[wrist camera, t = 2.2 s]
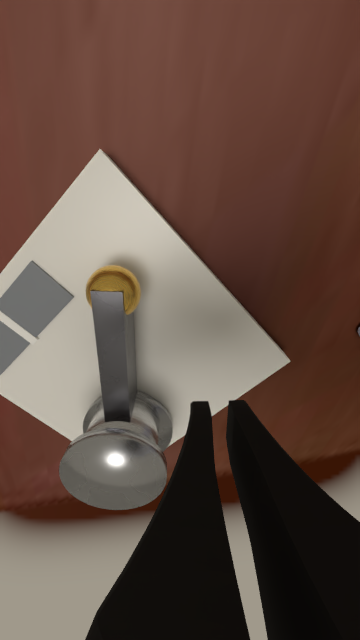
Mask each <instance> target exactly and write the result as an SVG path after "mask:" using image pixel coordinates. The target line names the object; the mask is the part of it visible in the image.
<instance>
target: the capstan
mask: <svg viewBox="0 0 360 640" xmlns="http://www.w3.org/2000/svg"><path fill="white" fill-rule="evenodd" d="M140 298H141V288H140V284H139V282H138V280H137V278H136V277H135V275H134V274H133V273H132V272H131V271H129V270H128V269H126V268H124V267H121V266H117V265H108V266H104V267H101V268H99V269H97V270H96V271H95V272H94V273H93V274H92V275H91V276H90V278H89V279H88V282H87V284H86V299H87V301H88V304H89V305H90V307H91V308H92V312H93V321H94V329H95V338H96V347H97V356H98V365H99V374H100V383H101V392H102V397H100V398H98V399H97V400H96V401H95V402H94V403H93V404H92V405H91V406H90V407H89V409H88V411H87V413H86V415H85V418H84V421H83V433H84V434H82V435H80V436H78V437H77V438H76V439H74V440H73V441H72V442H71V443H70V445H69V446H68V447H67V449H66V452H65V454H64V456H63V458H62V460H61V462H60V466H59V474H60V478H61V481H62V483H63V485H64V486H65V488H66V489H67V490H68V491H69V492H70V493H71V494H72V495H73V496H74V497H76V498H77V499H79V500H80V501H82V502H84V503H87V504H89V505H92V506H95V507H98V508H103V509H110V510H125V509H132V508H136V507H139V506H142V505H145V504H147V503H149V502H151V501H152V500H154V499H155V498H156V497H157V496H158V495H159V494H160V493H161V492H162V490H163V489H164V487H165V484H166V478H167V462H166V458H165V456H164V453H163V451H164V450H165V449H166V448H167V447H168V445H169V444H170V442H171V439H172V433H173V423H172V418H171V416H170V413H169V412H168V410H167V409H166V408H165V406H164V405H163V404H162V403H160V402H159V401H158V400H156V399H155V398H153V397H151V396H150V395H149V394H147V393H146V392H144V391H141V390H138V389H137V374H136V351H135V328H134V310H135V309H136V307H137V306H138V304H139V301H140Z"/></svg>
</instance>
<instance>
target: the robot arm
mask: <svg viewBox="0 0 360 640" xmlns="http://www.w3.org/2000/svg"><path fill="white" fill-rule="evenodd" d="M358 334H359V336H360V327H359V328H358ZM226 440H227V447H228V453H229V459H230V465H231V469H232V473H233V476H234V480H235V484H236V488H237V491H238V495H239V499H240V503H241V507H242V510H243V514H244V518H245V522H246V525H247V529H248V534H249V538H250V542H251V547H252V553H253V558H254V563H255V569H256V574H257V579H258V585H259V591H260V597H261V602H262V608H263V614H264V619H265V625H266V631H267V637H268V640H360V522H359V521H358V520H356V519H355V518H354V517H353V516H351V515H350V514H349V513H348V512H347V511H346V510H344V509H343V508H342V507H341V506H340V505H339V504H338V503H336V501H334V500H333V499H332V498H331V497H330V496H329V495H328V494H327V493H326V492H325V491H323V490H322V489H321V488H320V487H319V486H318V485H317V484H316V483H315V482H314V481H313V480H312V479H311V478H310V477H309V476H308V475H307V474H306V473H305V472H304V471H303V470H302V469H301V468H300V467H299V466H298V465H297V464H296V463H295V461H294V460H293V459H292V458H291V457H290V456H289V455H288V454H287V453H286V452H285V451H284V449H283V448H282V447H281V446H280V445H279V444H278V442H277V441H276V440H275V439H274V438H273V437H272V435H271V434H270V433H269V432H268V430H267V429H266V428H265V427H264V425H263V424H262V423H261V422H260V420H259V419H258V418H257V416H256V415H255V414H254V412H253V411H252V410H251V408H250V407H249V406H248V404H247V403H246V402H245V401H244V400H229V404H228V418H227V432H226ZM85 640H250V637H249V632H248V629H247V624H246V619H245V615H244V610H243V606H242V602H241V597H240V592H239V588H238V584H237V579H236V575H235V570H234V565H233V560H232V555H231V551H230V546H229V541H228V536H227V531H226V526H225V521H224V516H223V510H222V505H221V501H220V495H219V489H218V484H217V478H216V472H215V463H214V448H213V431H212V415H211V410H210V406H209V402H208V401H193V402H192V403H190V417H189V423H188V427H187V431H186V435H185V439H184V442H183V446H182V449H181V452H180V454H179V457H178V460H177V463H176V466H175V468H174V471H173V473H172V476H171V478H170V481H169V483H168V485H167V488H166V490H165V492H164V495H163V497H162V499H161V501H160V503H159V505H158V507H157V509H156V511H155V513H154V515H153V517H152V519H151V521H150V523H149V525H148V527H147V529H146V531H145V533H144V534H143V536H142V538H141V540H140V541H139V543H138V545H137V547H136V548H135V550H134V552H133V554H132V556H131V557H130V559H129V561H128V563H127V564H126V566H125V568H124V569H123V571H122V573H121V574H120V576H119V577H118V579H117V581H116V582H115V584H114V585H113V587H112V588H111V590H110V592H109V593H108V595H107V596H106V598H105V600H104V601H103V603H102V604H101V606H100V608H99V609H98V611H97V613H96V615H95V617H94V620H93V622H92V625H91V627H90V630H89V632H88V635H87V637H86V639H85Z"/></svg>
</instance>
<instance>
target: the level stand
mask: <svg viewBox="0 0 360 640" xmlns="http://www.w3.org/2000/svg"><path fill="white" fill-rule="evenodd" d="M108 265H117V266H121V267H124V268H126V269H128V270H129V271H131V272H132V273H133V274H134V275H135V277H136V278H137V280H138V282H139V284H140V288H141V298H140V301H139V304H138V306H137V307H136V309H135V310H134V328H135V351H136V374H137V389H138V390H141V391H144V392H146V393H147V394H149V395H150V396H151V397H153V398H155V399H156V400H158V401H159V402H160V403H162V404H163V405H164V406H165V408H166V409H167V410H168V412H169V413H170V416H171V418H172V423H173V433H172V439H171V442H170V444H169V445H168V446H170V445H171V444H172V443H174V442H175V441H177V440H178V439H180V438H181V437H183V436H184V435H185V434H186V431H187V427H188V423H189V417H190V403H192V402H193V401H208V402H209V406H210V410H211V415H212V416H213V415H214V414H216V413H217V412H218V411H220V410H221V409H223V408H224V407H226V406H227V405H228V404H229V400H236V399H237V398H239V397H240V396H241V395H243V394H244V393H246V392H247V391H249V390H250V389H252V388H253V387H254V386H256V385H257V384H259V383H260V382H262V381H263V380H264V379H266V378H267V377H269V376H270V375H272V374H273V373H275V372H276V371H277V370H279V369H280V368H282V367H283V366H285V365H286V364H287V363H289V362H290V360H289V358H288V357H287V356H286V354H285V353H284V352H283V350H282V349H281V348H280V347H279V346H278V345H277V344H276V343H275V342H274V340H273V339H272V338H271V337H270V336H269V335H268V334H267V333H266V331H265V330H264V329H263V328H262V327H261V326H260V325H259V324H258V323H257V321H256V320H255V319H254V318H253V317H252V316H251V315H250V314H249V312H248V311H247V310H246V309H245V308H244V307H243V306H242V305H241V304H240V302H239V301H238V300H237V299H236V298H235V297H234V296H233V295H232V293H231V292H230V291H229V290H228V289H227V288H226V287H225V286H224V285H223V283H222V282H221V281H220V280H219V279H218V278H217V277H216V276H215V274H214V273H213V272H212V271H211V270H210V269H209V268H208V267H207V266H206V264H205V263H204V262H203V261H202V260H201V259H200V258H199V257H198V255H197V254H196V253H195V252H194V251H193V250H192V249H191V248H190V247H189V245H188V244H187V243H186V242H185V241H184V240H183V239H182V238H181V236H180V235H179V234H178V233H177V232H176V231H175V230H174V229H173V228H172V226H171V225H170V224H169V223H168V222H167V221H166V220H165V219H164V217H163V216H162V215H161V214H160V213H159V212H158V211H157V210H156V209H155V207H154V206H153V205H152V204H151V203H150V202H149V201H148V200H147V198H146V197H145V196H144V195H143V194H142V193H141V192H140V191H139V190H138V188H137V187H136V186H135V185H134V184H133V183H132V182H131V181H130V179H129V178H128V177H127V176H126V175H125V174H124V173H123V172H122V171H121V169H120V168H119V167H118V166H117V165H116V164H115V163H114V162H113V160H112V159H111V158H110V157H109V156H108V155H107V154H106V153H105V152H103V151H102V150H101V149H99V151H98V152H97V153H96V154H95V156H94V157H93V158H92V159H91V161H90V162H89V163H88V165H87V166H86V167H85V168H84V170H83V171H82V172H81V173H80V175H79V176H78V177H77V178H76V180H75V181H74V182H73V183H72V185H71V186H70V187H69V188H68V190H67V191H66V192H65V193H64V195H63V196H62V197H61V198H60V200H59V201H58V202H57V203H56V205H55V206H54V207H53V208H52V210H51V211H50V212H49V213H48V215H47V216H46V217H45V219H44V220H43V221H42V222H41V224H40V225H39V226H38V227H37V229H36V230H35V231H34V232H33V234H32V235H31V236H30V237H29V239H28V240H27V241H26V242H25V244H24V245H23V246H22V247H21V249H20V250H19V251H18V252H17V254H16V255H15V256H14V257H13V259H12V260H11V261H10V262H9V264H8V265H7V266H6V267H5V269H4V270H3V271H2V273H1V274H0V394H1V395H2V396H4V397H5V398H7V399H8V400H10V401H11V402H13V403H14V404H16V405H17V406H19V407H21V408H22V409H24V410H25V411H27V412H28V413H30V414H31V415H33V416H34V417H36V418H37V419H39V420H40V421H42V422H44V423H45V424H47V425H48V426H50V427H51V428H53V429H54V430H56V431H57V432H59V433H60V434H62V435H64V436H65V437H67V438H68V439H70V440H71V441H73V440H74V439H76V438H77V437H78V436H80V435H82V434H84V433H83V421H84V418H85V415H86V413H87V411H88V409H89V407H90V406H91V405H92V404H93V403H94V402H95V401H96V400H97V399H98V398H100V397H102V392H101V383H100V374H99V365H98V356H97V347H96V338H95V329H94V321H93V312H92V308H91V307H90V305H89V304H88V301H87V299H86V284H87V282H88V279H89V278H90V276H91V275H92V274H93V273H94V272H95V271H96V270H97V269H99V268H101V267H104V266H108Z"/></svg>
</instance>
